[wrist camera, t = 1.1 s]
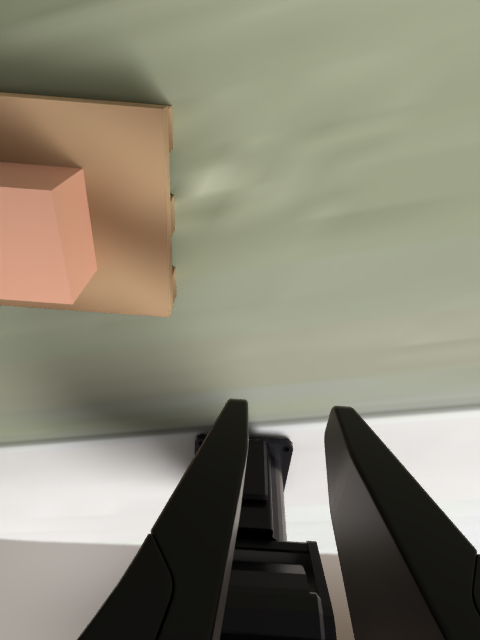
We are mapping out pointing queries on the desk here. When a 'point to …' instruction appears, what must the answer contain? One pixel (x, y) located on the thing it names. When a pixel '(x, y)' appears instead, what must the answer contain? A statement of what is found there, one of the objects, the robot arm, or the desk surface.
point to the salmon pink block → (44, 233)
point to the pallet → (106, 191)
